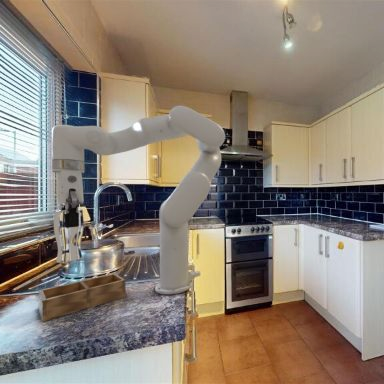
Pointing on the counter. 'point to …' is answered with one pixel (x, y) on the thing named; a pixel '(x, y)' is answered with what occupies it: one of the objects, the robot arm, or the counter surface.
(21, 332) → the counter surface
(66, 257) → the beer glass
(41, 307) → the holder
